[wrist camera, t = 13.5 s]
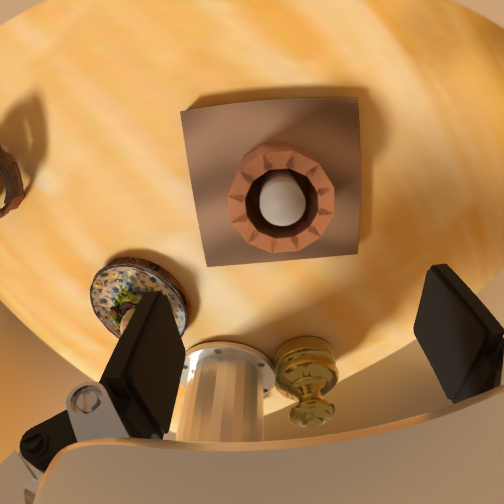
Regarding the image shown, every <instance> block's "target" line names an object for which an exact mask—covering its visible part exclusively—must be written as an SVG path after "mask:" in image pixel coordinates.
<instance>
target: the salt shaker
mask: <svg viewBox="0 0 504 504" xmlns="http://www.w3.org/2000/svg"><path fill="white" fill-rule="evenodd" d="M274 364H275V368H274V372H275V375H276V377H275V386H276V389H277V390H278V392H279V393H280V394H281V395H283V396H284V397H286V398H288V399H291V400H294V401H297V402H298V404H297V405H296V406H294V407H293V408H292V409H291V411H290V412H289V419H290V422H291V423H293V424H295V425H297V426H301V427H317V426H319V425H322V424H324V423H326V422H327V421H329V420H330V419H331V418H333V416H334V415H335V412H336V408H335V406H334V404H333V403H331V402H329V401H327V400H323V399H322V398H323V397H324V396H325V395H326V394H327V393H329V392H330V391H331V390H332V389H333V388H334V387H335V386H336V384H337V382H338V379H339V371H338V369H337V367H336V360H335V357H334V355H333V351H332V348H331V346H330V345H329V343H327V342H326V341H325V340H323V339H320V338H317V337H310V336H307V337H299V338H295V339H292V340H290V341H288V342H286V343H285V344H283V345H282V346H281V347H280V348H279V349H278V350H277V352H276V354H275V357H274Z"/></svg>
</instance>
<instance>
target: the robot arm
mask: <svg viewBox="0 0 504 504" xmlns="http://www.w3.org/2000/svg"><path fill="white" fill-rule="evenodd" d="M414 334H415V336H416V338H417V340H418V342H419V344H420V345H421V347H422V349H423V351H424V353H425V355H426V356H427V358H428V360H429V362H430V364H431V366H432V368H433V370H434V372H435V374H436V376H437V378H438V380H439V382H440V384H441V386H442V388H443V390H444V392H445V394H446V396H447V398H448V399H450V400H452V402H453V404H452V405H450V406H447V407H444V408H441V409H438V410H435V411H432V412H428V413H425V414H422V415H418V416H415V417H412V418H408V419H404V420H401V421H396V422H393V423H389V424H384V425H380V426H376V427H371V428H366V429H361V430H356V431H350V432H344V433H338V434H332V435H326V436H318V437H310V438H301V439H292V440H279V441H263V440H264V435H263V434H264V433H263V432H264V431H263V397H264V396H265V395H267V394H268V393H269V392H270V391H271V389H272V388H273V386H274V384H275V372H274V367H273V364H272V363H271V361H270V360H269V359H268V358H267V357H266V356H265V355H264V354H262V353H261V352H259V351H257V350H256V349H254V348H251V347H249V346H246V345H243V344H239V343H234V342H226V341H219V342H208V343H203V344H200V345H197V346H195V347H193V348H191V349H189V350H188V351H187V352H185V348H184V345H183V342H182V339H181V336H180V333H179V330H178V327H177V324H176V321H175V318H174V315H173V312H172V308H171V305H170V302H169V299H168V296H167V295H166V294H165V295H163V293H162V292H161V291H146V292H144V294H143V296H142V297H141V299H140V301H139V303H138V305H137V307H136V309H135V311H134V313H133V315H132V317H131V318H130V320H129V322H128V324H127V326H126V328H125V330H124V331H123V333H122V335H121V337H120V339H119V341H118V343H117V345H116V347H115V349H114V351H113V353H112V355H111V358H110V360H109V362H108V364H107V366H106V368H105V370H104V372H103V375H102V377H101V379H100V381H99V383H98V382H93V381H91V382H84V383H81V384H79V385H78V386H76V387H75V388H74V389H73V390H72V391H71V392H70V394H69V395H68V397H67V401H66V405H67V410H65V411H63V412H61V413H59V414H57V415H55V416H54V417H52V418H50V419H48V420H46V421H44V422H43V423H40V424H38V425H36V426H34V427H33V428H31V429H29V430H28V431H26V433H25V434H24V435H23V437H22V439H21V441H20V452H17V451H16V450H15V451H14V452H13V453H11V454H10V455H9V456H8V457H7V458H6V459H5V460H4V461H3V462H2V463H1V464H0V504H504V338H503V335H504V328H503V327H502V326H501V325H500V323H499V322H498V321H497V320H496V319H495V317H494V316H493V315H492V314H491V313H490V311H489V310H488V309H487V308H486V307H485V306H484V304H483V303H482V302H481V301H480V300H479V298H478V297H477V296H476V295H475V294H474V293H473V292H472V291H471V289H470V288H469V287H468V286H467V285H466V284H465V283H464V282H463V281H462V280H461V279H460V277H459V276H458V275H457V274H456V273H455V272H454V271H453V270H452V269H451V268H450V267H449V266H448V265H447V264H438V265H433V266H431V268H430V270H428V271H427V273H426V278H425V283H424V287H423V291H422V296H421V300H420V304H419V308H418V312H417V316H416V319H415V323H414ZM180 382H181V383H182V385H183V386H184V387H185V388H186V391H185V395H184V400H183V405H182V410H181V415H180V420H179V425H178V430H177V435H176V440H175V441H171V440H163V435H164V433H166V434H167V433H168V431H169V428H170V423H171V419H172V414H173V410H174V405H175V401H176V397H177V392H178V388H179V384H180Z"/></svg>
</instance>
